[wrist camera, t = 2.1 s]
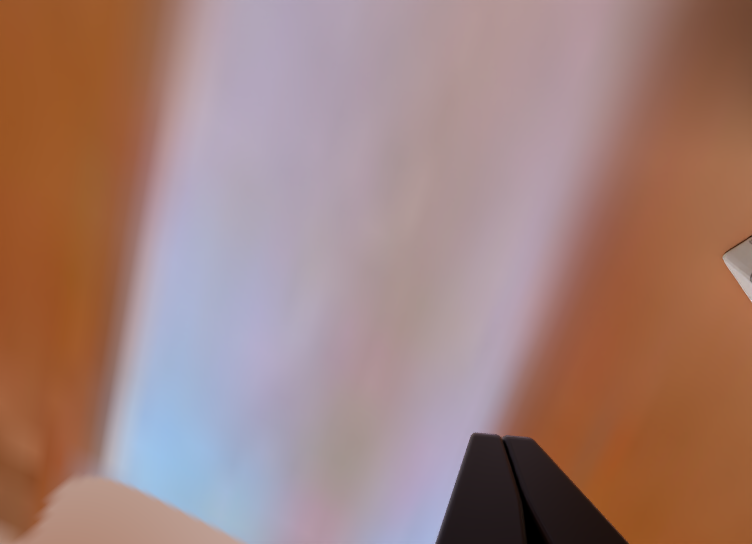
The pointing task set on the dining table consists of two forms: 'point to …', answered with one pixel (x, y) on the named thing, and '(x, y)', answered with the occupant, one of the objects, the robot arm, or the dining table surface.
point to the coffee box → (741, 265)
